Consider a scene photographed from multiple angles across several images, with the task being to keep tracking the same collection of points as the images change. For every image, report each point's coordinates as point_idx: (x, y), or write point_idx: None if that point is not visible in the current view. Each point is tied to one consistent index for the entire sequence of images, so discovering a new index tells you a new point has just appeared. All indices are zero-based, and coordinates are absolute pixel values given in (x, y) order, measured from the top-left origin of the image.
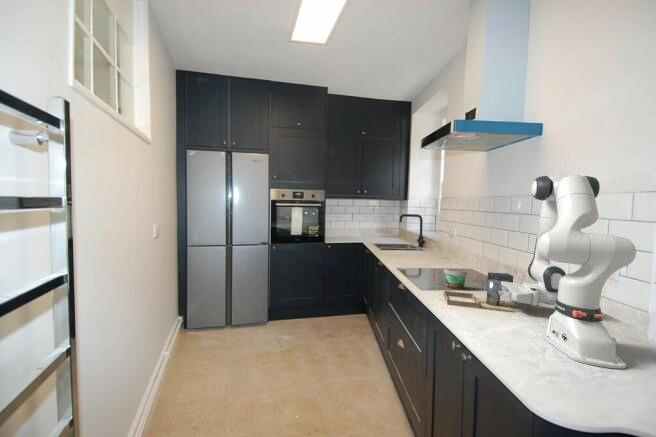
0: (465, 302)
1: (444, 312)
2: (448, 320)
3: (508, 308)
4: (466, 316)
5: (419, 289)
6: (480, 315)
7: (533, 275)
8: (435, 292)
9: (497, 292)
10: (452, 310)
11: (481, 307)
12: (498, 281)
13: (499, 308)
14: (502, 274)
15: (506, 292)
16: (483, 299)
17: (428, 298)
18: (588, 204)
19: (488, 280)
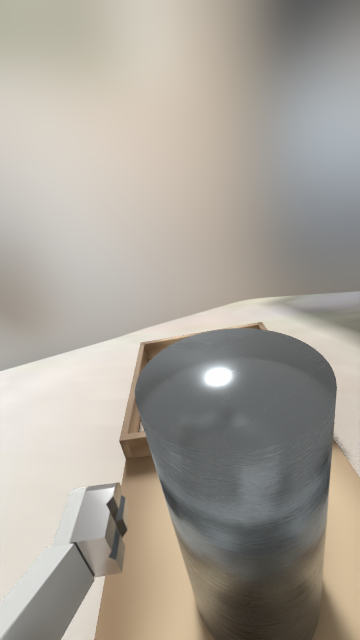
0: (131, 385)
1: (68, 361)
2: (5, 373)
3: None
4: (25, 408)
5: (271, 300)
6: (24, 456)
7: None
8: (275, 323)
9: (168, 507)
10: (87, 373)
11: (129, 465)
12: (259, 412)
13: (138, 627)
14: None
15: (9, 600)
16: (340, 497)
17: (188, 323)
18: None
19: (226, 331)
